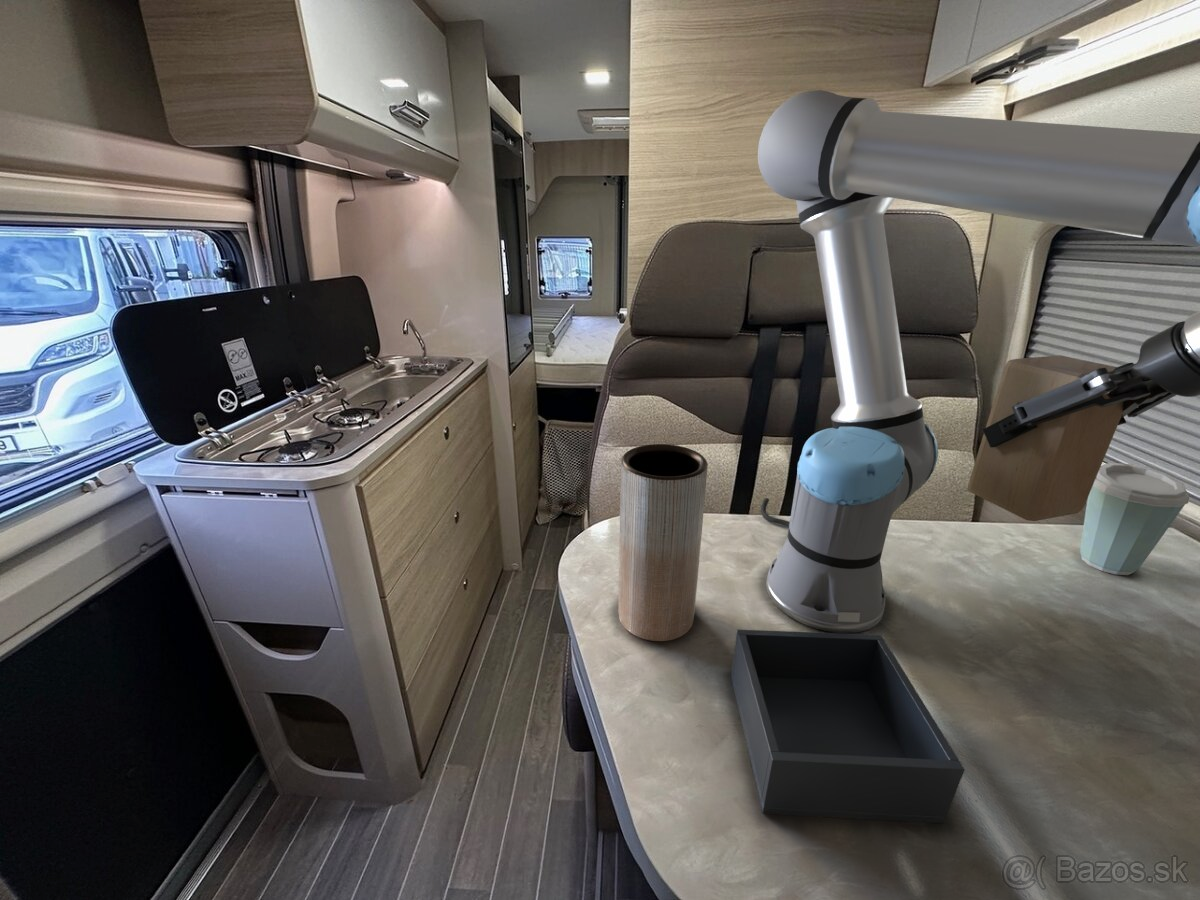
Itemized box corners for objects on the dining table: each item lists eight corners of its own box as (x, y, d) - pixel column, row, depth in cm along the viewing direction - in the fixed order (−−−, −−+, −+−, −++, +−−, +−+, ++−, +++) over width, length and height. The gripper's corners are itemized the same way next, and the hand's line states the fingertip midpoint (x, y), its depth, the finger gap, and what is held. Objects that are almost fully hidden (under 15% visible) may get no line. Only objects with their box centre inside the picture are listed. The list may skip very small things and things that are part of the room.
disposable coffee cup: (1167, 591, 76) (1214, 498, 70) (1074, 574, 79) (1112, 484, 73) (1131, 552, 85) (1170, 467, 79) (1049, 538, 88) (1080, 456, 83)
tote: (730, 675, 61) (737, 629, 58) (869, 681, 60) (881, 634, 58) (762, 813, 47) (772, 760, 44) (944, 823, 46) (965, 769, 43)
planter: (607, 601, 73) (608, 449, 64) (672, 585, 76) (682, 439, 68) (636, 651, 65) (642, 484, 56) (708, 631, 68) (724, 470, 59)
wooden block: (1084, 514, 72) (1144, 371, 64) (1030, 525, 69) (1085, 376, 62) (1013, 483, 81) (1058, 353, 73) (962, 491, 78) (1003, 357, 71)
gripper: (1140, 386, 51) (962, 466, 71) (1317, 375, 55) (1102, 454, 75) (1102, 320, 53) (941, 416, 74) (1274, 315, 58) (1078, 407, 78)
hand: (1022, 435), depth 74 cm, fingers closed on wooden block, 11 cm apart
